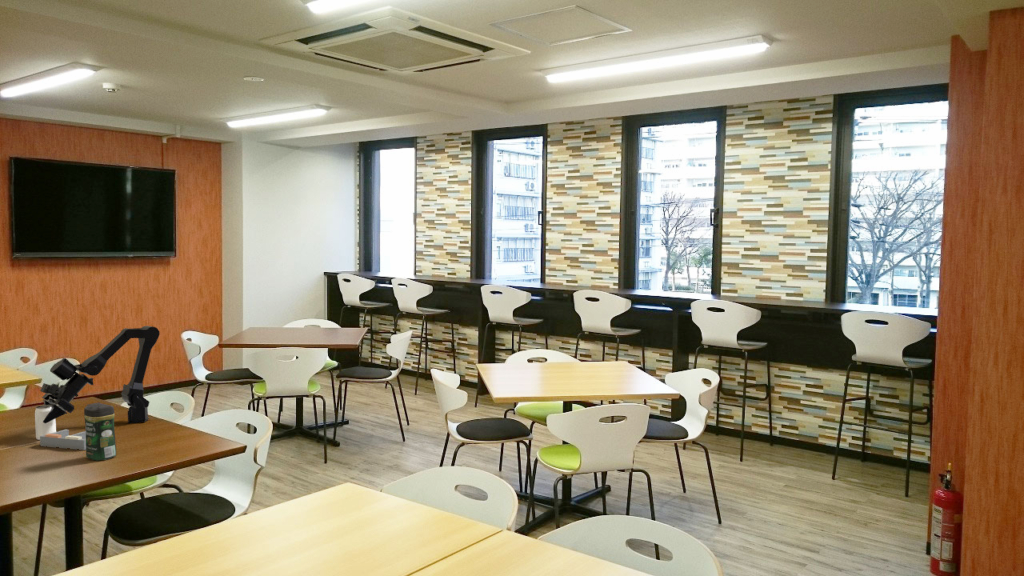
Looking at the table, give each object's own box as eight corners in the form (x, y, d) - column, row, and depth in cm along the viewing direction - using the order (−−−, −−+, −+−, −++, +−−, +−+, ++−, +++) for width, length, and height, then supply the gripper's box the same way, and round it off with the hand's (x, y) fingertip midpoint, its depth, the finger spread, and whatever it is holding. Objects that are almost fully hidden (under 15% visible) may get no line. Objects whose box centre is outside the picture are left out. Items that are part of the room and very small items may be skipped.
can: (49, 440, 275) (47, 408, 274) (32, 440, 275) (30, 408, 275) (60, 435, 282) (58, 404, 281) (43, 435, 282) (41, 404, 281)
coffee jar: (82, 458, 251) (79, 404, 250) (106, 452, 258) (103, 399, 256) (96, 462, 246) (93, 407, 244) (120, 457, 252) (118, 403, 251)
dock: (66, 438, 277) (65, 427, 277) (108, 442, 271) (108, 430, 271) (40, 445, 267) (39, 434, 267) (84, 450, 261) (83, 438, 261)
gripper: (47, 372, 286) (15, 405, 279) (63, 377, 274) (30, 412, 266) (70, 389, 293) (40, 422, 285) (87, 395, 280) (56, 430, 273)
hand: (41, 421), depth 277 cm, fingers closed on can, 6 cm apart
